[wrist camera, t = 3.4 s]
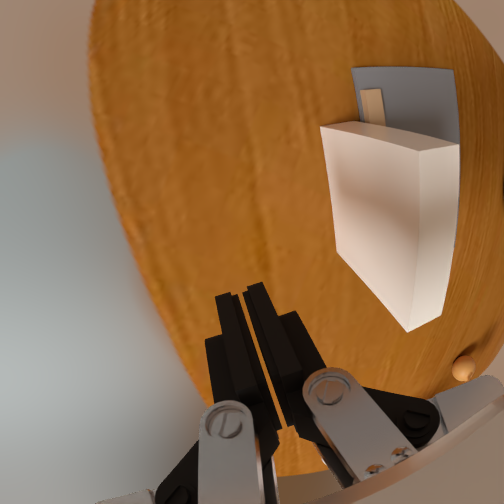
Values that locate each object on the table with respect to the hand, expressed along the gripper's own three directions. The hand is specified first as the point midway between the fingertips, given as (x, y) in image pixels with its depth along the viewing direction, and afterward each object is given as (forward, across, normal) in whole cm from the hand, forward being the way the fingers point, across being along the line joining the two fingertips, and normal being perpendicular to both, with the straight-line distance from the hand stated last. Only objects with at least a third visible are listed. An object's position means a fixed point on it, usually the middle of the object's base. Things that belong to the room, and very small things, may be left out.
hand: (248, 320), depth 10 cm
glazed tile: (+9, -9, 0) cm, 13 cm away
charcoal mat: (+9, -15, 0) cm, 18 cm away
